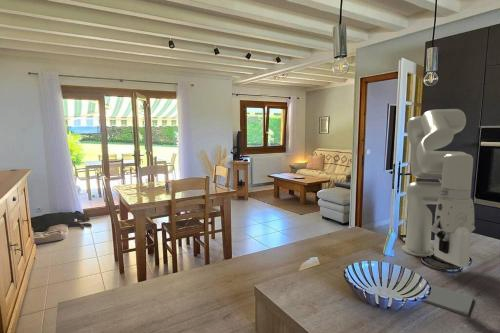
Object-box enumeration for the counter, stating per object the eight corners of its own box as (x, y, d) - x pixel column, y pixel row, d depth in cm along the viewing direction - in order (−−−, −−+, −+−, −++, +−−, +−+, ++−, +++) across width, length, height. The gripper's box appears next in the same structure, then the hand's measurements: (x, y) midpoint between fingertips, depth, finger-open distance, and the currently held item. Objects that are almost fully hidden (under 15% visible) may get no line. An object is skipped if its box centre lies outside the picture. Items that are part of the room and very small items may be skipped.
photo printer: (431, 255, 98) (433, 218, 97) (442, 254, 99) (444, 217, 98) (459, 268, 88) (462, 227, 87) (471, 267, 89) (474, 226, 88)
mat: (430, 286, 104) (430, 284, 104) (473, 299, 96) (473, 297, 96) (421, 300, 95) (421, 298, 95) (467, 316, 87) (467, 313, 87)
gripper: (439, 197, 87) (435, 258, 89) (491, 195, 89) (486, 254, 91) (421, 192, 94) (417, 248, 96) (469, 190, 96) (465, 245, 98)
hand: (451, 250), depth 94 cm, fingers closed on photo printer, 4 cm apart
